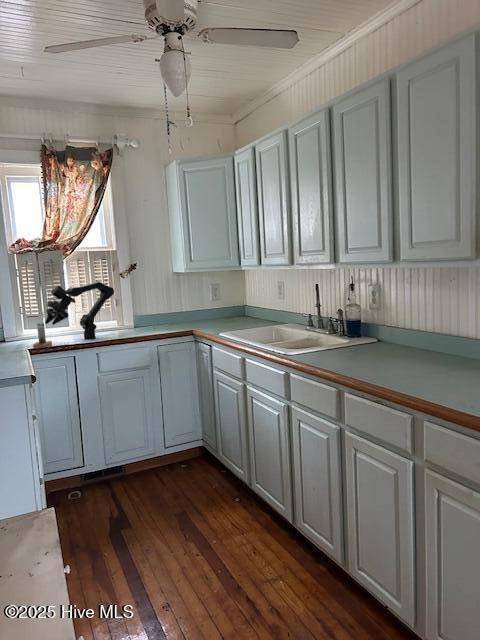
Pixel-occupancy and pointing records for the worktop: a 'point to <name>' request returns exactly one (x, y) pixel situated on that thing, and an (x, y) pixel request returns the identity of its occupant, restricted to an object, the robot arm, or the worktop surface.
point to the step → (42, 344)
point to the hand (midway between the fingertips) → (49, 323)
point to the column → (41, 332)
